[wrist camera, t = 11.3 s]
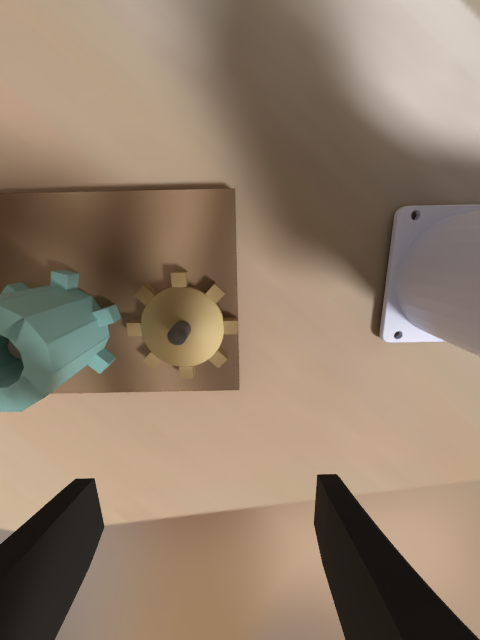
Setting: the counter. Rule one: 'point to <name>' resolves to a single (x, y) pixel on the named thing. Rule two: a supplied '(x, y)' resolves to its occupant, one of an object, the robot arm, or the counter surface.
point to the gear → (49, 338)
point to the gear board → (138, 279)
